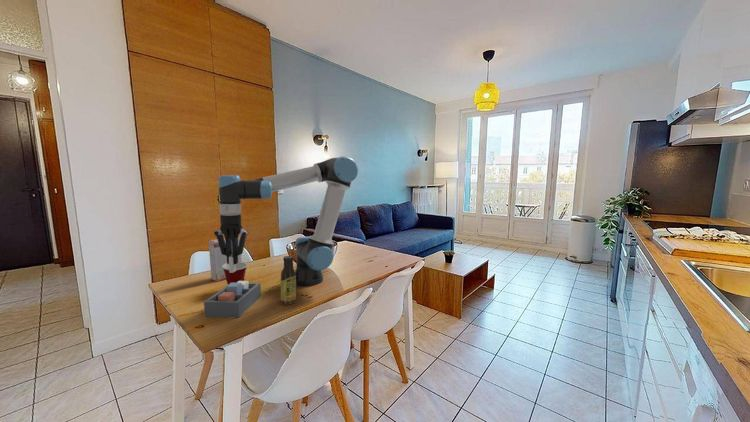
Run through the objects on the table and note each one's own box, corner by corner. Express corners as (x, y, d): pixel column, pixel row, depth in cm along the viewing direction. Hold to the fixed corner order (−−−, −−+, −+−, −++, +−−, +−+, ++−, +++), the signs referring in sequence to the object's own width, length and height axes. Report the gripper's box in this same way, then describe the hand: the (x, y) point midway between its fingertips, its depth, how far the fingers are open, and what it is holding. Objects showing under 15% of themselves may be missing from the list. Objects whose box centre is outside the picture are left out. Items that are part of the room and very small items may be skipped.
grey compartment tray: (260, 295, 128) (260, 282, 127) (238, 317, 108) (238, 302, 107) (231, 295, 128) (231, 282, 127) (204, 317, 108) (203, 301, 107)
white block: (248, 291, 126) (248, 281, 125) (244, 295, 122) (243, 284, 121) (239, 291, 126) (239, 280, 125) (234, 295, 122) (234, 284, 121)
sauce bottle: (287, 307, 117) (286, 260, 115) (277, 303, 121) (276, 257, 118) (299, 301, 123) (298, 256, 120) (289, 297, 126) (288, 254, 124)
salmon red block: (235, 304, 114) (234, 292, 113) (229, 308, 110) (228, 296, 109) (224, 303, 114) (223, 291, 113) (218, 308, 110) (218, 296, 109)
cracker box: (237, 272, 158) (235, 235, 156) (242, 274, 155) (241, 236, 153) (210, 279, 147) (208, 239, 145) (216, 282, 144) (213, 241, 141)
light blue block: (242, 294, 120) (241, 282, 119) (237, 298, 115) (236, 286, 115) (232, 294, 120) (231, 282, 119) (226, 298, 115) (226, 286, 115)
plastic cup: (238, 294, 129) (237, 269, 127) (218, 292, 131) (216, 267, 129) (253, 286, 139) (252, 262, 138) (234, 284, 141) (233, 260, 140)
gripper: (208, 215, 110) (211, 274, 113) (242, 215, 110) (244, 275, 112) (219, 212, 117) (222, 268, 120) (251, 213, 117) (252, 269, 120)
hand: (232, 271), depth 116 cm, fingers closed
